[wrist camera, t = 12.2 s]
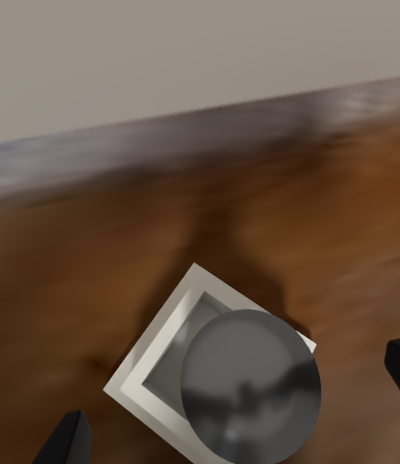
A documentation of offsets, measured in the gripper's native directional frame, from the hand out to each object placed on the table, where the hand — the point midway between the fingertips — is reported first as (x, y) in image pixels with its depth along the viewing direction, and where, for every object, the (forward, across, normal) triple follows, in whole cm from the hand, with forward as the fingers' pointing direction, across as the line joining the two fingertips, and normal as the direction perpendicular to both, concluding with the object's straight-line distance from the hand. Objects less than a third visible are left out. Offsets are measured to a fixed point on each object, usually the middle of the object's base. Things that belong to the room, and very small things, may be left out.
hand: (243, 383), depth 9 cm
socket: (+9, 0, +9) cm, 13 cm away
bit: (+8, 0, +8) cm, 12 cm away
